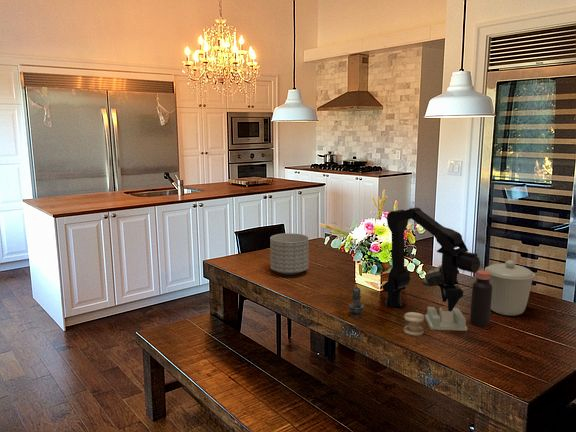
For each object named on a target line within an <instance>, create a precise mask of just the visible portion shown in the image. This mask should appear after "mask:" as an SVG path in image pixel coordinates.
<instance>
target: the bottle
mask: <svg viewBox="0 0 576 432" xmlns="http://www.w3.org/2000/svg"><path fill="white" fill-rule="evenodd" d="M490 277H491V273H490V272H488V271H485V269H484V270H482V269H481V270H480V269H478V271H477V272H476V273H475V278H476V280H475V281H474V282H473V283H472V289H471V291H472V292H471V302H470V304H471V305H470V315H469V317H470V318H469V322H470V323H471V324H472V325H474V326H476V327H488V326H489V325H490V320H491V319H490V318H491V298H492V285H491V284H490V283H489V280H490Z"/></svg>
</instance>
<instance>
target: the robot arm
mask: <svg viewBox="0 0 576 432" xmlns="http://www.w3.org/2000/svg"><path fill="white" fill-rule="evenodd" d="M409 220H413V221H414V222H415V223H416V224H418V225H419V226H421V227H422V228H423V229H424V230H426V231H427V232H429V233H430V234H431V236H434V238H435V240H436V242H437V244H439V245H440V246H441V247H440V248H439V249H438V250H436V252H437V253H438V254H439V253H440V254H441V265H442V266H441V267H440V268H439V271H437V272H432V273H429V274H427V273H426V274H425V275H424V276H425V279H426V282H427V284H426V285H427V286H428V287H433V286H436V285H437V286H438V288H439V289H440V294H441V299H442V302H443V303H446V302H447V303H446V305H447V306H448V311H452V310H453V308H456V306H457V304H458V302H459V300H460V299H462V298H463V297H464V290H463V289H462V288H461V287H460V285H459V281H458V274H460V270H461V271H464V272H469V273H473V274H476V272H477V271H479V270H480V267H481V261H480V258H479V256H478V253H476V252H469V249H468V247H467V245H466V244H465V243H466V242H464V240H463V235H462V234H461V233H460V232H458V231H457V230H454V229H452V228H449V227H445V226H443V225H442V224H441V223H439V222H437V221H436V220H435V219H434V218H432V217H431V216H430V215H428V214H427V213H426V212H424V211H423V210H422V209H421V208H419V207H411V208H409V209H405V210H404V209H397V210H391V211H390V212H388V213H387V214H386V221H387V223H386V224H387V227H388V229H389V230H390V232H391V268H390V271H389V272H388V278H387V281H386V282H385V283H383V284H382V286H381V287H382V290H383V292H385V293H386V299H385V300H384V303H385V306H386V307H388V308H389V307H392V308H395V307H396V308H403V303H402V291H403V290H406V287H407V286H408V285H409V284H410V282H411V278H410V275H411V271H410V270H408V269H406V267H405V266H406V265H405V231H406V229H407V226H408V225H409ZM435 284H436V285H435Z"/></svg>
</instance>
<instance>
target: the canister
mask: <svg viewBox="0 0 576 432" xmlns="http://www.w3.org/2000/svg"><path fill="white" fill-rule="evenodd" d="M484 271H488V272H490V273H491V277H490V280H489V283H490V284H491V285H492V298H491V309H490V311H493V312H494V313H496V314H499V315H504V316H510V317H511V316H513V317H514V316H519V315H521V314H523V313H524V312H525V311H526V307H527V304H528V302H529V297H530V293H531V287H532V283H533V279H534V278H535V277H536V273H534V272H533V271H532V270H531V269H529V268H527V267H525V266H522V265H517V264H516V262H515V261H514V260H511V259H508V260H506V261H505V262H504V263H492V264H490V265H488V266H485V268H484Z"/></svg>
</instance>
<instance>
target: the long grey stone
mask: <svg viewBox="0 0 576 432" xmlns="http://www.w3.org/2000/svg"><path fill="white" fill-rule="evenodd" d="M441 266H442V264H440V265H439V266H437V267H436V268H434V269H431V270H428V271H427V272H426V274H429V273H432V272H437V271H439V268H440V267H441ZM422 279H423V281H422V282H423V283H424V284H425V285H428V284H427V282H426V279H425V278H422ZM436 285H437V284H435V285H434V286H436Z"/></svg>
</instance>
